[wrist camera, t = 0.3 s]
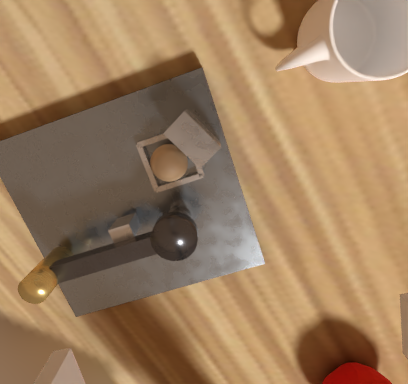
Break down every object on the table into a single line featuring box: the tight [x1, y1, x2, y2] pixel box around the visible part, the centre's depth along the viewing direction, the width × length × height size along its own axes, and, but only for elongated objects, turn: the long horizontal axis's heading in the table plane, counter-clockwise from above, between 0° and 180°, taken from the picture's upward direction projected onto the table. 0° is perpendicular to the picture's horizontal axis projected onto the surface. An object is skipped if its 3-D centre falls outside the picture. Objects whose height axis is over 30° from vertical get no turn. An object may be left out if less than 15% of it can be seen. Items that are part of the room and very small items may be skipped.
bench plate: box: [0, 68, 265, 317], centre depth 38 cm, size 24×26×6 cm
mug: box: [275, 0, 408, 82], centre depth 29 cm, size 9×12×11 cm
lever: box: [18, 212, 198, 304], centre depth 35 cm, size 5×19×7 cm, turn 109°
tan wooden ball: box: [150, 144, 188, 182], centre depth 35 cm, size 4×4×4 cm
